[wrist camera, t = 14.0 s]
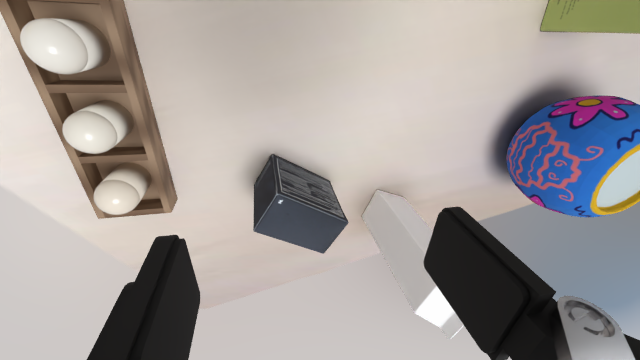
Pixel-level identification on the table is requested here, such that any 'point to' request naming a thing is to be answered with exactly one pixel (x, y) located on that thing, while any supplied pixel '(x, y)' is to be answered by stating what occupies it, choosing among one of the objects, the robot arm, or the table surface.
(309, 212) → the small box
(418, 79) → the table surface
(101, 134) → the egg middle
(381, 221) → the milk
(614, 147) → the ceramic pot
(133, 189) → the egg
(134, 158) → the crate
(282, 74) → the table surface
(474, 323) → the robot arm
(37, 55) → the white rounded cylinder
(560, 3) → the protein box
